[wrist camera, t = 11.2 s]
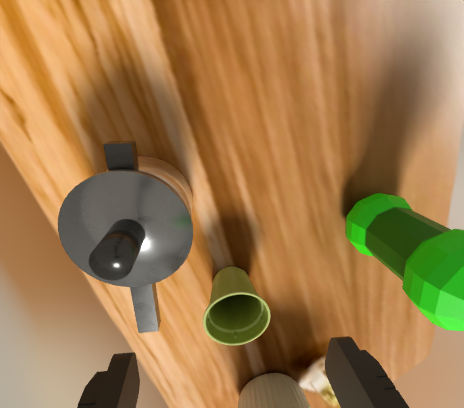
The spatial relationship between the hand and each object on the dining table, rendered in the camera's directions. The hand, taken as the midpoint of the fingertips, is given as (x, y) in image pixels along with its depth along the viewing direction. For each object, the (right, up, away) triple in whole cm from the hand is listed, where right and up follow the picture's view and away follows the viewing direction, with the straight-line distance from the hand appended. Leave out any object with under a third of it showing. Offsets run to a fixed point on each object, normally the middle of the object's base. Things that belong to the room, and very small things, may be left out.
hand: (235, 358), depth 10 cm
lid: (-11, +4, +17) cm, 21 cm away
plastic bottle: (+21, +5, +31) cm, 38 cm away
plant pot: (0, -7, +33) cm, 33 cm away
